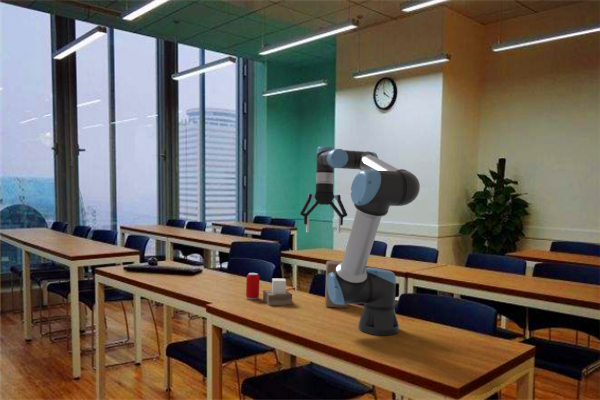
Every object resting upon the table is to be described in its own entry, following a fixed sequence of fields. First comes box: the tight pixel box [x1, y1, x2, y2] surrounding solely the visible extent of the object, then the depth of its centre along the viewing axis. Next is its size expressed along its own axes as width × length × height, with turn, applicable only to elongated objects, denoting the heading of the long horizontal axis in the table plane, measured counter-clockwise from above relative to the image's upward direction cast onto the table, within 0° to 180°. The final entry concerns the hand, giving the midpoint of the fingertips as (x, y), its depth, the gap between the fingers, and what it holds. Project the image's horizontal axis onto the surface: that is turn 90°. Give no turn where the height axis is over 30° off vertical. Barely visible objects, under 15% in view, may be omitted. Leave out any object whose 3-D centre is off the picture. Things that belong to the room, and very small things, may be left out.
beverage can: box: [245, 272, 260, 301], centre depth 220 cm, size 6×6×12 cm
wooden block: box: [324, 260, 349, 309], centre depth 211 cm, size 10×10×20 cm
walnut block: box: [262, 289, 293, 306], centre depth 214 cm, size 11×11×5 cm
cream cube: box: [271, 277, 287, 294], centre depth 214 cm, size 6×6×6 cm
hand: (323, 232), depth 195 cm, fingers open, 13 cm apart
